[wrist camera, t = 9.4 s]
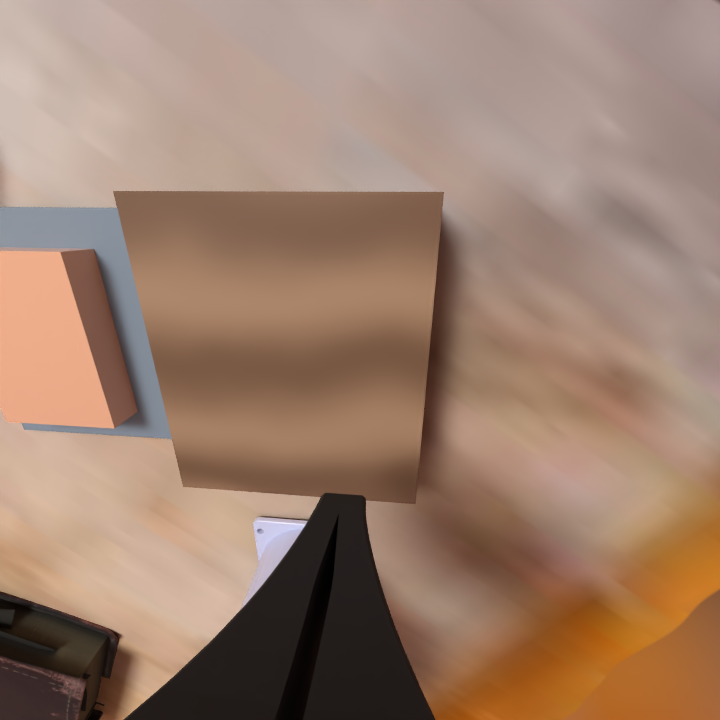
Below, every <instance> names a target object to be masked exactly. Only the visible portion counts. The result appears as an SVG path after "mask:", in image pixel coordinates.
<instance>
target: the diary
mask: <svg viewBox="0 0 720 720" xmlns="http://www.w3.org/2000/svg"><path fill="white" fill-rule="evenodd" d="M117 643H118V637H117V636H116V635H115V634H114V633H113V632H112V631H111V630H110V629H107V628H105V627H102V626H100V625H97V624H95V623H92V622H89V621H86V620H83V619H81V618H78V617H75V616H72V615H69V614H67V613H64V612H61V611H58V610H55V609H52V608H49V607H46V606H43V605H40V604H37V603H34V602H31V601H28V600H25V599H22V598H19V597H16V596H13V595H9V594H6V593H2V592H0V720H100V718H101V716H102V714H103V712H102V711H99V710H95V709H93V708H94V707H95V705H96V703H97V702H96V700H97V697H98V692H99V686H100V681H101V676H103V677H106V678H109V679H110V675H111V671H112V666H113V662H114V658H115V654H116V650H117ZM97 704H100V703H97ZM100 705H103V704H100ZM103 706H104V705H103Z"/></svg>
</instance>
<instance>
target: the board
mask: <svg viewBox="0 0 720 720" xmlns="http://www.w3.org/2000/svg"><path fill="white" fill-rule="evenodd" d="M113 192H114V196H115V201H116V205H117V209H118V213H119V218H120V222H121V226H122V230H123V234H124V239H125V243H126V247H127V251H128V256H129V260H130V264H131V268H132V272H133V277H134V281H135V285H136V289H137V294H138V298H139V302H140V306H141V310H142V315H143V319H144V323H145V327H146V332H147V336H148V340H149V344H150V348H151V353H152V357H153V361H154V365H155V370H156V374H157V378H158V382H159V386H160V391H161V395H162V399H163V403H164V408H165V412H166V416H167V420H168V424H169V429H170V433H171V437H172V441H173V446H174V450H175V454H176V458H177V462H178V467H179V471H180V475H181V479H182V484H183V487H194V488H207V489H221V490H234V491H248V492H261V493H275V494H288V495H301V496H315V497H321V496H322V495H323V494H324V493H337V494H351V495H363V496H364V497H365V498H366V500H369V501H382V502H395V503H409V504H415V503H416V492H417V481H418V470H419V459H420V448H421V437H422V426H423V415H424V404H425V393H426V382H427V371H428V360H429V349H430V338H431V327H432V316H433V305H434V294H435V283H436V272H437V261H438V250H439V239H440V228H441V217H442V206H443V195H444V192H198V191H113Z"/></svg>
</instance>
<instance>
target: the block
mask: <svg viewBox="0 0 720 720" xmlns="http://www.w3.org/2000/svg"><path fill="white" fill-rule="evenodd" d="M0 408H1V411H2V413H3V415H4V417H5V420H6V422H16V423H32V424H49V425H65V426H81V427H97V428H114V429H115V428H116V427H117V426H119V425H120V424H121V423H123V422H124V421H125V420H127V419H128V418H130V417H131V416H132V415H134V414H135V413H136V412H138V410H137V406H136V402H135V399H134V395H133V391H132V387H131V384H130V380H129V376H128V373H127V369H126V365H125V362H124V358H123V354H122V351H121V347H120V343H119V340H118V336H117V332H116V328H115V325H114V321H113V317H112V314H111V310H110V306H109V303H108V299H107V295H106V292H105V288H104V284H103V281H102V277H101V273H100V269H99V266H98V262H97V258H96V255H95V251H94V249H76V248H18V247H0Z"/></svg>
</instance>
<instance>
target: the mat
mask: <svg viewBox="0 0 720 720" xmlns="http://www.w3.org/2000/svg"><path fill="white" fill-rule="evenodd" d="M0 247H18V248H76V249H94V251H95V255H96V258H97V262H98V266H99V269H100V273H101V277H102V281H103V284H104V288H105V292H106V295H107V299H108V303H109V306H110V310H111V314H112V317H113V321H114V325H115V328H116V332H117V336H118V340H119V343H120V347H121V351H122V354H123V358H124V362H125V365H126V369H127V373H128V376H129V380H130V384H131V387H132V391H133V395H134V399H135V402H136V406H137V410H138V412H136V413H135V414H134V415H132V416H131V417H130V418H128V419H127V420H125V421H124V422H123V423H121V424H120V425H119V426H117V427H116V428H115V429H114V428H97V427H81V426H65V425H49V424H32V423H22V425H23V428H24V430H40V431H55V432H71V433H87V434H103V435H119V436H135V437H151V438H167V439H172V437H171V433H170V429H169V424H168V420H167V416H166V412H165V408H164V403H163V399H162V395H161V391H160V386H159V382H158V378H157V374H156V370H155V365H154V361H153V357H152V353H151V348H150V344H149V340H148V336H147V332H146V327H145V323H144V319H143V315H142V310H141V306H140V302H139V298H138V294H137V289H136V285H135V281H134V277H133V272H132V268H131V264H130V260H129V256H128V251H127V247H126V243H125V239H124V234H123V230H122V226H121V222H120V218H119V213H118V209H117V208H53V207H0Z"/></svg>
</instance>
